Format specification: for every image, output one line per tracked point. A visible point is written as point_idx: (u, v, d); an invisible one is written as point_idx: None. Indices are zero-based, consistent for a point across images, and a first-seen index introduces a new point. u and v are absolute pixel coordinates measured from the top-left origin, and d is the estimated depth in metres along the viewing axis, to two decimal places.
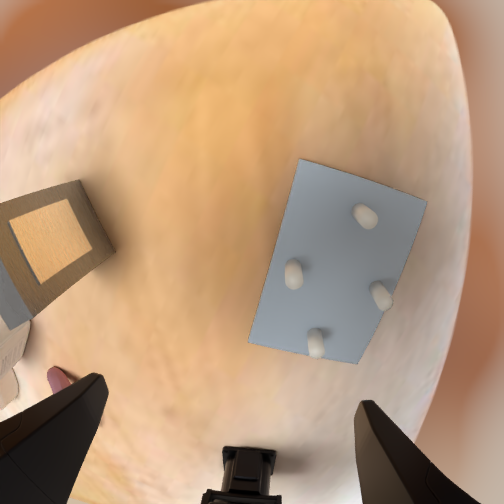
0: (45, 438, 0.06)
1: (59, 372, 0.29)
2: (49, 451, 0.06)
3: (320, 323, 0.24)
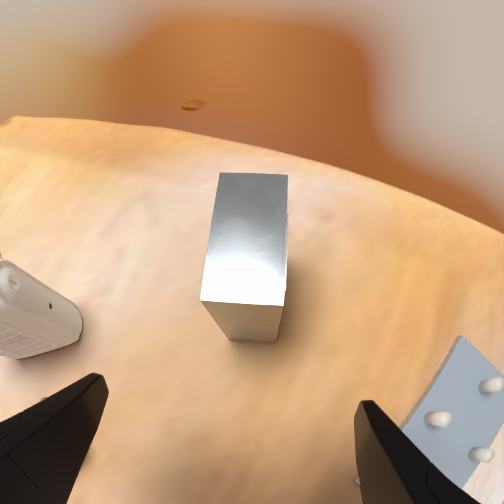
0: (44, 438, 0.06)
1: None
2: (49, 451, 0.06)
3: None
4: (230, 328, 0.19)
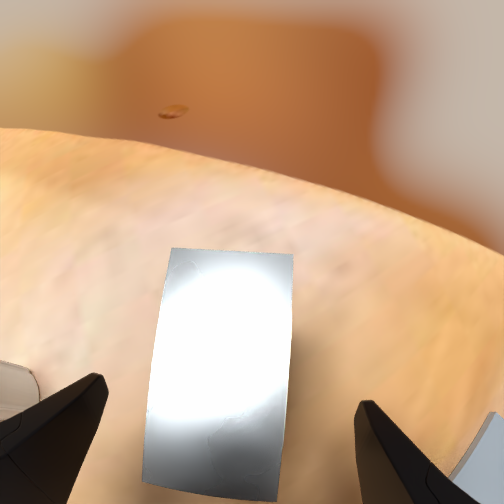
0: (44, 438, 0.06)
1: None
2: (49, 451, 0.06)
3: None
4: None
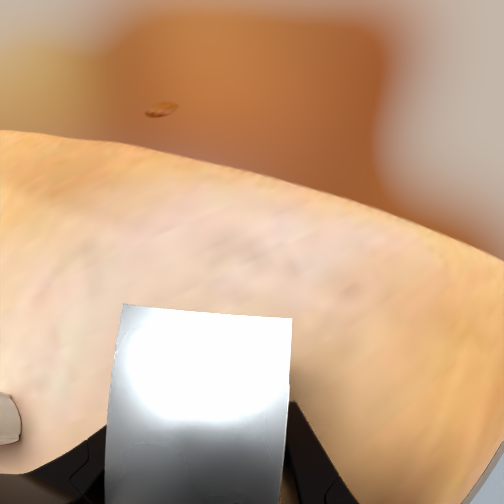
0: None
1: None
2: None
3: None
4: None
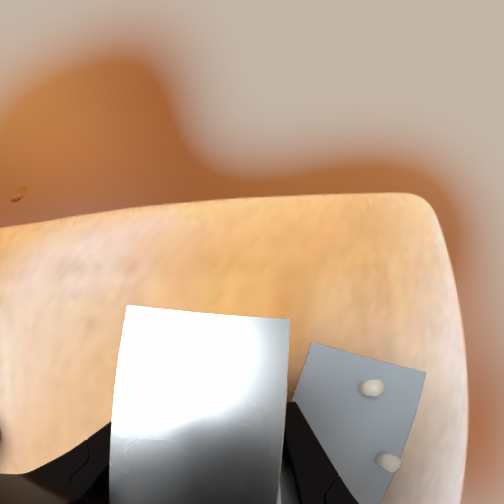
0: None
1: None
2: None
3: None
4: None
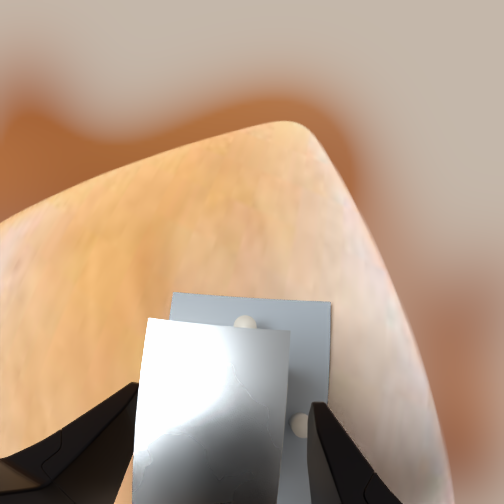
0: (88, 457, 0.06)
1: None
2: (93, 470, 0.06)
3: None
4: None
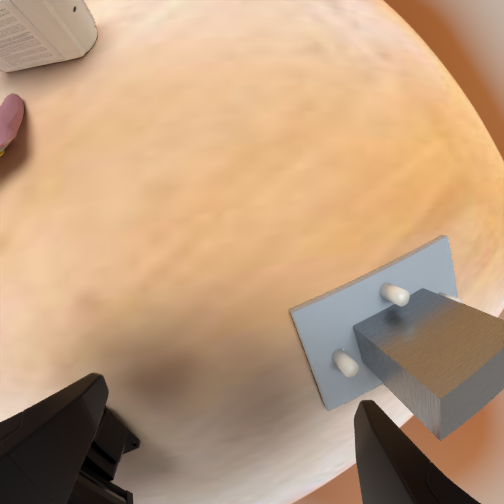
0: (44, 438, 0.06)
1: (22, 108, 0.17)
2: (49, 451, 0.06)
3: (351, 351, 0.22)
4: (384, 359, 0.17)
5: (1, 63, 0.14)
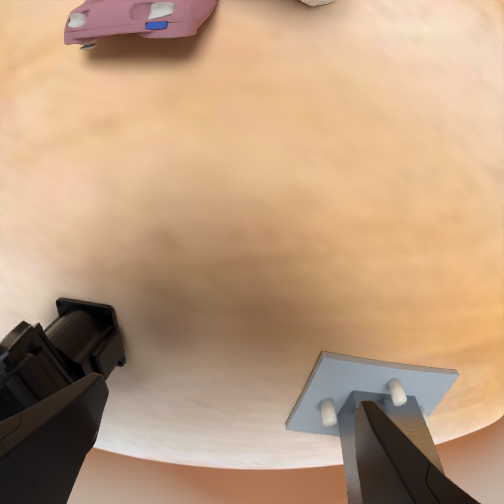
0: (44, 438, 0.06)
1: (215, 5, 0.15)
2: (49, 451, 0.06)
3: (337, 404, 0.25)
4: None
5: None
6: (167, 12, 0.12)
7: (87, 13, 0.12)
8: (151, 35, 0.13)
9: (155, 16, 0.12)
